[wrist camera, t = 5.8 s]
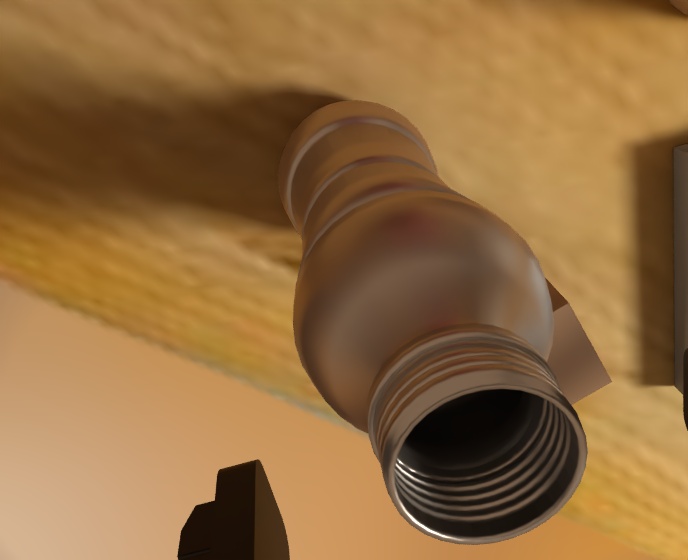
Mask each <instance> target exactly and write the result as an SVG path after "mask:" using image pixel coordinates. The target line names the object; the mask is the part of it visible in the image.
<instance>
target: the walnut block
mask: <svg viewBox="0 0 688 560" xmlns="http://www.w3.org/2000/svg"><path fill="white" fill-rule="evenodd" d="M545 279H546V278H545ZM546 282H547V286H548V290H549V294H550V298H551V302H552V310H553V317H554V332H553V343H552V347H551V350H550V354H549V357H548V360H547V363H548V365H549V366H550V367H551V369H552V370H553V372H554V373H555V374H556V377H557V379H558V382H559V384H560V387H561V390H562V393H563V395H564V396H565V397H566V399H567V400H568V401H569V403H570V404H571V405H572V404H574V403H575V402H577V401H579V400H581V399H583V398H584V397H586V396H588V395H590V394H591V393H593V392H595V391H597V390H598V389H600V388H602V387H604V386H605V385H607V384H609V383H611V382H612V381H611V379H610V377H609V375H608V373H607V371H606V370H605V368H604V366H603V364H602V362H601V361H600V359H599V357H598V355H597V353H596V351H595V350H594V348H593V346H592V344H591V342H590V341H589V339H588V337H587V335H586V333H585V331H584V330H583V328H582V326H581V324H580V322H579V321H578V319H577V317H576V315H575V313H574V311H573V310H572V308H571V306H570V304H569V303H568V302H567V300H566V299H565V298H564V297H563V296H562V295H561V294H560V293H559V292H558V291H557V290H556V289H555V288H554V287H553V286H552V284H551V283H550V282H549V281H548V280H547V279H546Z"/></svg>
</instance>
